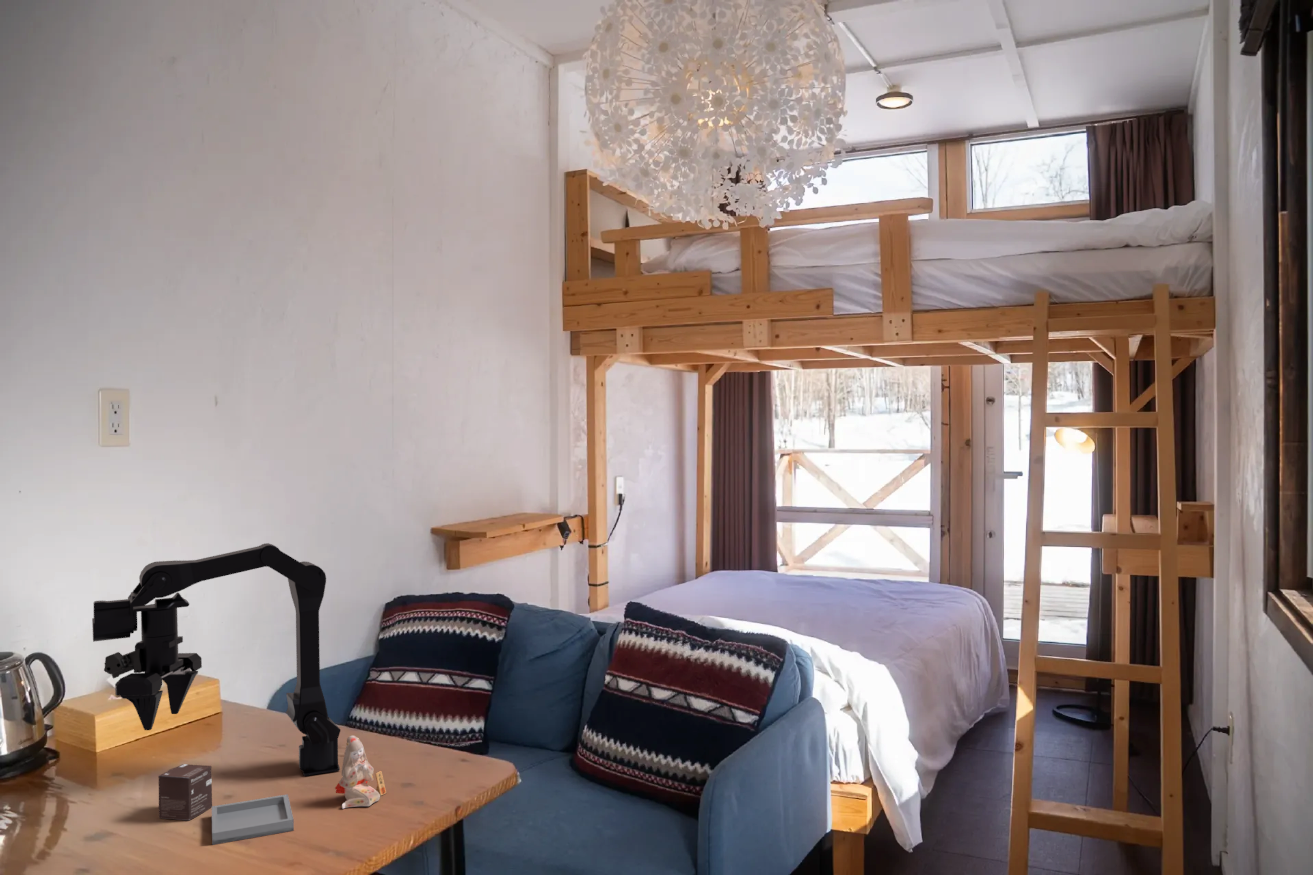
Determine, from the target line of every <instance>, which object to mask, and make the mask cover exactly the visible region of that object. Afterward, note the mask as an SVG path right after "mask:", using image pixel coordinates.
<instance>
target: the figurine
mask: <svg viewBox="0 0 1313 875" xmlns="http://www.w3.org/2000/svg"><path fill="white" fill-rule="evenodd" d="M341 767H342V768H341V778H340V780H339V781H338V783H337V784H336V786H335V787H334V789H335V794H343V795H344V797H345V799H346V800H345V801H344V802H343V803H342V804H341V809H346V808H347V809H348V808H354V807H357V808H358V807H370V806H372V804H374V803H376V802H379V800H380V799H381V796H383V795H385V794H387V790H386V789H387V788H386V786H385V781H384V776H383V772H382V770H380V771H378V772H375V773H374V769H375V768H374V766H372V765H371V763H370V762H369V761H368V758H367V754H366V752H365V748H364V745H363V742H362V741H361V740H360V738H359V737H357V736H356V735H354V734H353V735H349V736H348V737H347V738H346V746H345V751H344V755H343V762H342V766H341ZM373 775H375V779H374V776H373ZM374 780H376V789H375V788H374V787H372V786H371V785H369V784H368V782H373V781H374Z"/></svg>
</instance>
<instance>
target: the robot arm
mask: <svg viewBox="0 0 1313 875" xmlns="http://www.w3.org/2000/svg"><path fill="white" fill-rule="evenodd" d="M264 567H266V568H267V567H268V568H270V569H272V570H273V571H275V572H277V573H279V574H280V575H282V576H283V577H285V578H287V582H288V586H289V591H290V595H291V596H290V597H291V598H292V599H291V600H292V603H293V605H294V610H295V636H296V637H295V638H296V640H295V644H296V645H295V646H296V685H295V688H294V690H293V692H286V700H287V709H286V712H285V713H286V715H287V716H288V718H290V720H291V722H292V723H293V725H294V726H295V727H296V728H297V729H298V731H299V732H301V733H302V734H303V736H301V744H299V745H298V767H299V770H300V771H302V773H303V776H305V777H307V776H315V775H319V774H328V773H333V772H338V771H340V770H341V768H340V765H339V736H340V734H341V728H340V727H339V726H338V725H337V724H336V723H335V722H334V721H333V720H332V719H331V717H329V714H328V710H327V704H326V700H325V696H324V693H323V689H322V686H321V677H320V676H321V672H320V670H321V669H320V668H321V664H320V662H321V660H320V655H321V654H320V609H321V606H322V603H323V599H324V595H325V591H326V590H325V589H326V584H327V576H326V572H325V571H324V570H323V569H322V568H321V567H320V566H319V565H316V564H315V563H312V562H310V561H303V560H302V561H299V560H297V559H295V558H294V557H292V556H290V555H288V554H286V553H285V552H283V551H282V550H280V548H279V547H278V546H276V545H274V544H271V543H269V542H268V543H262V544H260V545H257V546H253V547H249V548H245V549H240V550H235V551H230V552H227V553H221V554H216V555H213V556H208V557H203V558H197V559H192V560H166V561H165V560H162V561H160V560H159V561H154V562H151V563H148V564H147V565H145V566H144V567H143V569H141V571H140V575H139V577H138V578H139V580H138V581H139V582H138V583H137V585H136V587H135V588H134V589H133V590H132V591H131V592H130V594H129V595H128V597H127V598H125V599H116V600H95V601H93V618H92V622H91V624H92V641H93V642H101V641H111V640H119V639H126V638H127V639H128V638H131V634H134V632H136V631H138V612H140V630H141V640H140V641H138V642H136V644H135V645H134V650H132V651H130V652H128V653H124V654H122V653H121V652H120V651H118V652H114V653H113V654H109V655H107V656H105V657H104V658H105V659H104V663H103V664H104V668H103V671H104V672H105V673H107V674H109V675H111V677H112V678H113V679H116V678H118V677H120V676H121V675H124V674H126V673H129V672H131V671H133V672H132V673H129V674H126V675H125V676H123V677H121V678H119V680H118V681H116V683H115V684H114V685H115V686H114V689H115V691H114V692H115V693H114V694H115V696H117V697H118V696H119V697H120V698H121V699H124V700H125V699H126V700H127V701H129V702H130V703H132V705H133V707H134V709H135V710H136V713H137V715H138V717H139V721H140V723H141V726H142V728H143V730H144V731H151V730H152V729H153V727H154V724H155V719H156V716H157V713H158V709H159V706H160V703H161V699H162V696H163V693H164V692H163V691H164V690H161V689H162V687H163V686H162V685H163V682H164V683H165V685H166V690H167V694H168V695H167V696H168V697H167V698H168V701H169V702H168V703H169V709H170V713H171V715H177V714H179V711H181V707H182V706H183V704H184V701H185V698H186V696H187V694H188V693H189V690H190V688H191V686H192V685H193V684H192V683H193V682H194V680H195V678H196V676H197V675H198V674H199V670H200V669H202V667H203V666H202V657H201V656H200V655H199V654H198V653H197V652H185V653H183V652H179V644H182V643H183V642H184V639H183V638H184V637H183V636H180V635H179V631H178V630H179V629H178V627H179V625H178V608H179V609H180V608H188V607H189V606H190V602H189V601H188V600H187V599H185V598H184V597H182V595H181V593H180V592H181V591H183V590H185V589H188V588H189V587H192V586H193V585H195V584H198V583H200V582H205V581H208V580H212V579H216V578H221V577H225V576H229V575H234V574H238V573H242V572H247V571H251V570H256V569H259V568H264ZM173 594H174V595H173ZM171 595H173V596H172V597H169V596H171ZM152 601H154V603H151V604H149V603H150V602H152Z"/></svg>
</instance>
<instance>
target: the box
mask: <svg viewBox="0 0 1313 875" xmlns="http://www.w3.org/2000/svg"><path fill="white" fill-rule="evenodd" d="M212 781H213V780H212V765H202V764H185V763H184V764H180V765H178V766H175V767H173V768H171V769H169V770H167V771H165V772H163V773H161V774H159V775H158V818H159V819H166V820H180V821H192V820H193V819H194V818H196V817H199V816H200V815H202V814H203V813H205V812H207V811H209V809H212V806H213V796H212V795H213V792H212V790H213V787H212V785H213V784H212Z"/></svg>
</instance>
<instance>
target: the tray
mask: <svg viewBox="0 0 1313 875" xmlns="http://www.w3.org/2000/svg"><path fill="white" fill-rule="evenodd" d="M294 819H295V818H294V816H293V812H292V808H291V803H290V797H289V794H288V793H287V794H286V793H285V794H282V795H281V794H280V795H275V796H268V797H263V798H256V799H250V800H244V801H243V800H242V801H238V802H231V803H225V804H219V805H212V807H211V839H212V843H211V844H212V845H211V846H214V845H220V844H226V843H231V842H236V841H242V840H248V839H253V838H254V839H255V838H259V837H264V836H271V835H275V834H282V833H288V832H293V831H294V830H295V827H294V826H295V825H294V822H295V821H294Z"/></svg>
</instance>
